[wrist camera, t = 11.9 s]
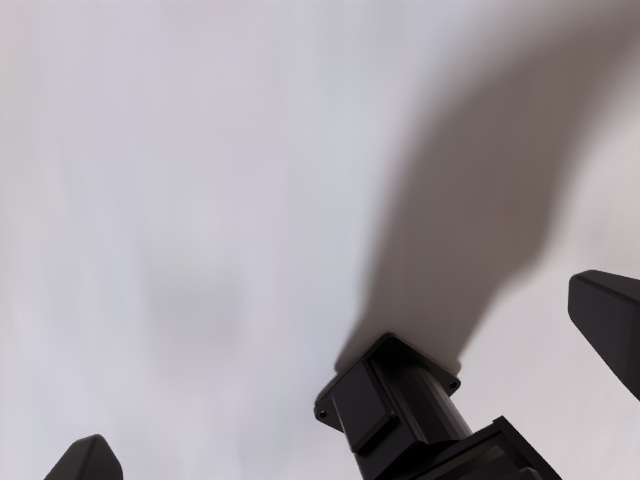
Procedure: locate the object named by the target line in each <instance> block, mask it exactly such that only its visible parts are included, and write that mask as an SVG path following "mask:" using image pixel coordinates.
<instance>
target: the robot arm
mask: <svg viewBox="0 0 640 480" xmlns="http://www.w3.org/2000/svg"><path fill="white" fill-rule="evenodd" d="M568 313H569V316H570V318H571V320H572V322H573V323H574V324H575V326H576V327H577V328H578V329H579V331H580V332H581V333H582V334H583V336H584V337H585V338H586V339H587V341H588V342H589V343H590V344H591V345H592V347H593V348H594V349H595V350H596V352H597V353H598V354H599V355H600V357H601V358H602V359H603V360H604V362H605V363H606V364H607V365H608V366H609V368H610V369H611V370H612V371H613V373H614V374H615V375H616V376H617V377H618V379H619V380H620V381H621V382H622V383H623V384H624V385H625V387H626V388H627V389H628V390H629V391H630V392H631V393H632V394H633V395H634V396H635V397H636V398H637V399H638V400H639V401H640V280H638V279H633V278H629V277H624V276H620V275H616V274H611V273H607V272H602V271H598V270H587V271H584V272H581V273H578V274H575V275H573V276H572V277H571V278H570V280H569V293H568ZM389 341H392V342H391V343H390V344H387V343H388V342H389ZM460 385H461V381H460V380H459V378H458V377H457V376H456V375H455V374H454V373H452V372H451V371H449V370H448V369H446V368H445V367H443V366H442V365H440V364H439V363H437V362H436V361H434V360H433V359H431V358H430V357H428V356H427V355H425V354H424V353H423V352H421V351H420V350H418V349H417V348H415V347H414V346H412V345H411V344H409V343H408V342H406V341H405V340H403V339H402V338H400V337H399V336H397V335H396V334H394V333H386V334H384V335H383V336H382V337H381V338H380V339H379V340H378V341H377V342H376V343H375V344H374V345H373V346H372V347H371V348H370V349H369V350H368V352H367V353H366V354H365V355H364V356H363V357H362V358H361V359H360V360H359V361H358V362H357V363H356V364H355V365H354V366H353V367H352V368H351V369H350V370H349V371H348V372H347V373H346V375H345V376H344V377H343V378H342V379H341V380H340V381H339V382H338V383H337V384H336V385H335V386H334V387H333V388H332V389H331V390H330V391H329V392H328V393H327V394H326V395H325V397H324V398H323V399H322V400H321V401H320V402H319V403H318V404H317V405H316V406H315V408H314V414H315V417H316V419H317V420H318V421H320V422H322V423H324V424H326V425H328V426H330V427H332V428H334V429H336V430H338V431H340V432H342V433H344V434H345V436H346V439H347V441H348V444H349V447H350V450H351V452H352V453H354V456H355V459H356V462H357V464H358V467H359V470H360V473H361V475H362V478H363V480H562V479H561V477H560V476H559V475H558V474H557V473H556V472H555V470H554V469H553V468H552V467H551V466H550V465H549V464H548V463H547V462H546V461H545V460H544V459H543V458H542V456H541V455H540V454H539V453H538V452H537V451H536V450H535V449H534V448H533V447H532V446H531V445H530V444H529V443H528V442H527V441H526V440H525V438H524V437H523V436H522V435H521V434H520V433H519V432H518V431H517V430H516V429H515V428H514V427H513V426H512V425H511V424H510V423H509V422H508V420H507V419H506V418H505V417H504V416H503V415H502V416H500V417H499V418H497V419H495V420H493V421H492V422H493V423H492V424H490V425H488V426H486V427H485V428H483V429H481V430H479V431H477V432H475V433H472V431H471V430H470V428H469V427H468V425H467V424H466V422H465V421H464V419H463V418H462V416H461V415H460V413H459V412H458V410H457V409H456V407H455V406H454V404H453V403H452V401H451V400H450V398H449V397H450V396H451V395H452V394H453V393H454V392H455V391H456V390H457V389H458V388H459V387H460ZM322 411H324V412H322ZM321 412H322V413H321ZM44 480H123V471H122V467H121V465H120V463H119V461H118V459H117V458H116V456H115V454H114V453H113V451H112V450H111V448H110V446H109V445H108V443H107V442H106V440H105V439H104V437H103V436H101V435H99V434H95V435H92V436H89V437H86V438H83V439H80V440H77V441H75V442H74V443H73V444H72V445H71V446H70V447H69V448H68V450H67V451H66V452H65V453H64V455H63V456H62V457H61V458H60V460H59V461H58V462H57V464H56V465H55V466H54V467H53V469H52V470H51V471H50V472H49V474H48V475H47V476H46V477H45V479H44Z"/></svg>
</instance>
